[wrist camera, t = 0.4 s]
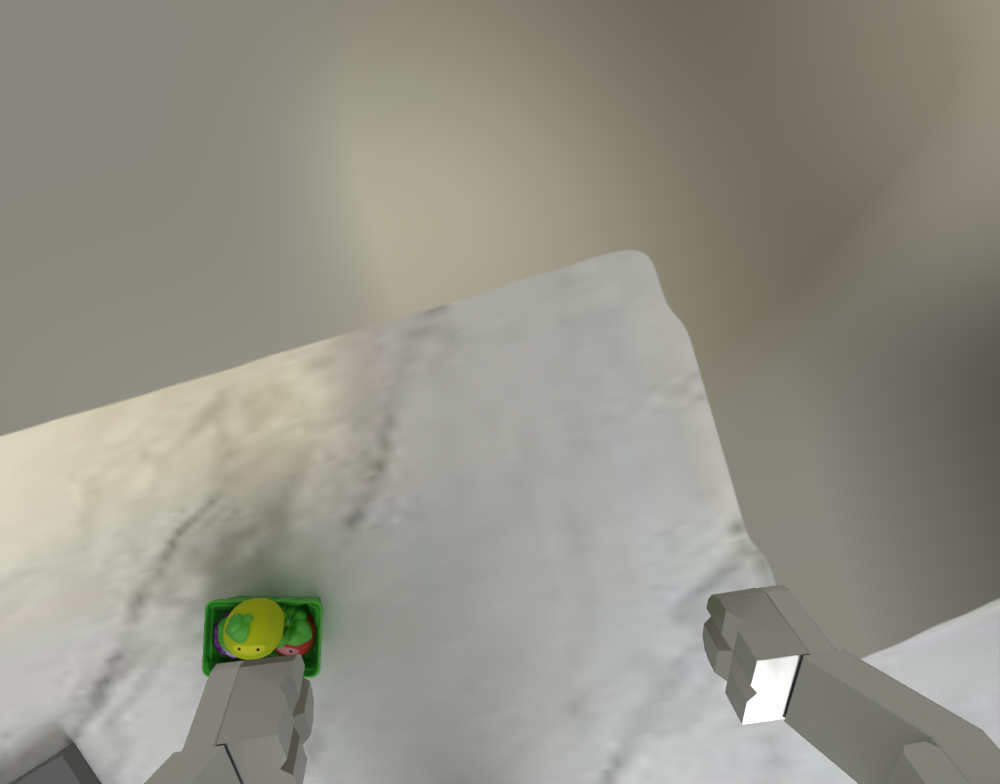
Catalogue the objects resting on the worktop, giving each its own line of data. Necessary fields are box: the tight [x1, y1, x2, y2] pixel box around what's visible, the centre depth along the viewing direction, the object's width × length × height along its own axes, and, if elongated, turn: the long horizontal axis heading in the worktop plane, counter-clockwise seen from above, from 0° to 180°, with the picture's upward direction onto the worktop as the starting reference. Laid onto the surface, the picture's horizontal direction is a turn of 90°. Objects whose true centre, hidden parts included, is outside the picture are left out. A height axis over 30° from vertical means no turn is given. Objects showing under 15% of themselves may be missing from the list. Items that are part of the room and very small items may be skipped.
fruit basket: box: [202, 597, 323, 678], centre depth 57 cm, size 11×9×11 cm
